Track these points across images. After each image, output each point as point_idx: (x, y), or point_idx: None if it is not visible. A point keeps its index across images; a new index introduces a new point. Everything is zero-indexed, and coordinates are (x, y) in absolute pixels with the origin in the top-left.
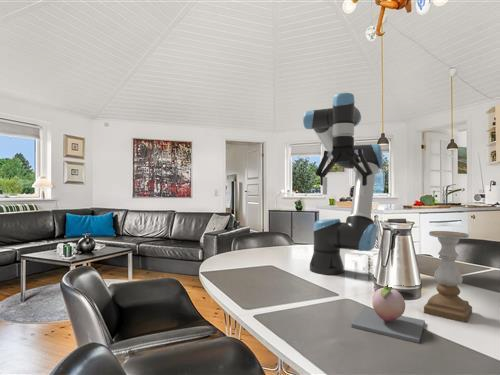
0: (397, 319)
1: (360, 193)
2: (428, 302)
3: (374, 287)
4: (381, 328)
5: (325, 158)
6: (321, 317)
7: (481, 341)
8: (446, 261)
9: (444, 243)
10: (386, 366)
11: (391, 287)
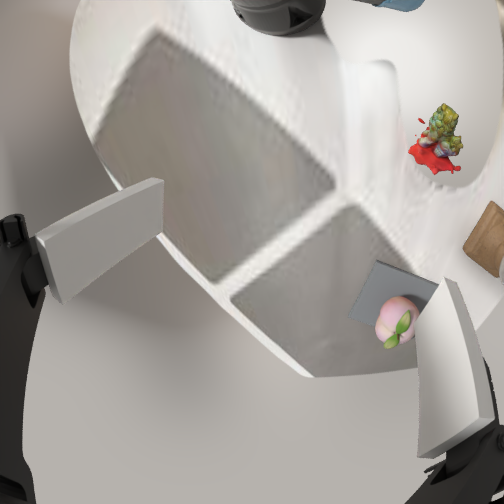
0: (411, 294)
1: (418, 334)
2: (473, 255)
3: (410, 153)
4: None
5: None
6: (311, 294)
7: (475, 319)
8: None
9: None
10: (364, 370)
11: (407, 327)
